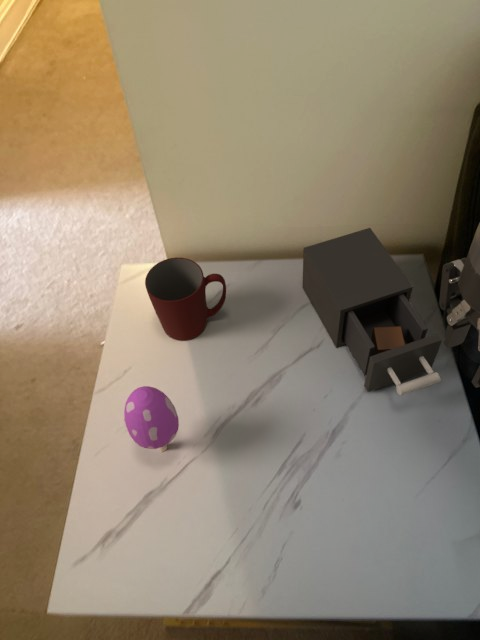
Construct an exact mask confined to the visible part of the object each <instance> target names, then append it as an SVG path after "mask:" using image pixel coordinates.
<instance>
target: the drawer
mask: <svg viewBox="0 0 480 640" xmlns="http://www.w3.org/2000/svg"><path fill="white" fill-rule="evenodd" d="M398 326H401V329H402V333H403V338H404V343H405V345H403V346H400V347H397V348H394V349H391V350H388V351H385V352H382V353H379V354H376V355H373V354H374V349H375V346H374V344H373V343H372V341H371V339H372V334H373V329H374V327H398ZM428 330H429V328H428V326H427V325H426V324H425V322H424V321H423V319H422V317H420V315H419V313H418V312H417V311H416V309H415V308H414V306H413V305H412V304H411V303H410V300H409V301H408V300H407V298H406V297H405V295H404V294H403V293H402V294H399V295H396V296H393V297H390V298H387V299H384V300H381V301H378V302H374V303H371V304H368V305H365V306H362V307H359V308H356V309H353V310H350V311H347V312H345V316H344V324H343V332H342V338H343V339H344V341H345V343H346V345H345V346H346V347H347V348H348V350H349V352H350V353H351V355H352V358H354V360H355V362H356V364H357V366H358V368H359V369H360V371H361V373H362V375H363V376H364V377H365V379H364V385H363V386H364V388H365V390H366V392H367V393H369V392H372V391H375V390H378V389H381V388H383V387H386V386H389V385H392V384H395V390H396V392H397V394H398V396H404V395H406V394H408V393H412V392H415V391H418V390H421V389H423V388H426V387H428V386H431V385H434V384H437V383H441V376H440V374H439V373H438V372H437V371H434V370H433V366H434V363H435V360H436V357H437V355H438V352H439V350H440V347H441V344H442V341H443V339H442V337H441V335H439V333H435V334H432V335H429V336H427V333H428ZM426 372H427V374H426V375H423V376H421V377H420V376H419V377H417V378H414V379H412V380H409V381H406V382H403V383H402V382H401V381H403V380H407V379H409V378H412V377H415V376H417V375H421V374H423V373H426Z"/></svg>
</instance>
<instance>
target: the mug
mask: <svg viewBox="0 0 480 640" xmlns="http://www.w3.org/2000/svg"><path fill="white" fill-rule="evenodd" d="M214 282H215V283H216V282H217V283H221V285H222V292H221V296H220V299H219V300H218V302H217V303H216V304H215V305H214V306H213V307H211V308H209V307H208V305H207V293H206V289H207V286H208V284H210V283H214ZM144 285H145V289H146V292H147V295H148V298H149V300H150V302H151V305H152V307H153V309H154V312H155V314H156V316H157V318H158V321H159V323H160V325H161V327H162V329H163V331H164V333H165V335H167V336H168V337H169V338H171V339H172V340H175V341H183V342H184V341H190V340H193V339H195V338H197V337H198V336H200V335H201V334H202V333H203V332H204V331H205V329H206V327H207V324H208V319H210V318H212V317H214V316H215V315H217V314H218V313H219V312H220V311H221V309H222V307H223V306H224V304H225V301H226V298H227V284H226V281H225V278H224V277H223V275H221V274H219V273H210V274H208V275H206V276H204V272H203V269H202V267H201V266H200V264H198V263H197V262H196V261H194V260H192V259H190V258H188V257H187V258H186V257H170V258H167V259H163V260H161V261H159V262H158V263H156V264H154V265H153V266H152V267H150V269H149V270H148V272H147V273H146V276H145V280H144Z"/></svg>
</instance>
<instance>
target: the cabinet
mask: <svg viewBox="0 0 480 640" xmlns="http://www.w3.org/2000/svg"><path fill="white" fill-rule="evenodd" d="M302 249H303V251H302V255H303V256H302V286H301V287H302V289H303V291H304V293H305V295H306V296H307V298H308V300H309V303H310V304H311V306H312V307H313V309H314V311H315V313H316V314H317V317H318V318H319V320H320V321H321V324H322V325H323V327H324V328H325V331H326V332H327V334H328V336H329V338H330V340H331V341H332V343H333V345H334V347H335V348H336V349H338V348H341V347H344V346H347V345H346V343H345V341H344V339H343V338H342V332H343V324H344V316H345V312H347V311H350V310H353V309H356V308H359V307H362V306H365V305H368V304H371V303H374V302H378V301H381V300H384V299H387V298H390V297H393V296H396V295H399V294H402V293H403V294H404V295H405V297H406V298H407V300H408V301H409V302H410V300H411V295H412V291H413V288H414V286H413V284H411V282H410V281H409V279H408V277H407V276H406V275H405V274H404V272H403V270H401V268H400V267H399V266H398V264H397V262H396V261H395V259H394V258H393V257H392V256H391V254H390V253H389V252H388V250H387V249H386V247H385V246H384V245H383V244H382V242H381V241H380V239H379V238H378V237H377V235H376V233H375V232H374V231H373V230H372V228H371V227H367V228H364V229H360V230H357V231H354V232H351V233H348V234H344V235H341V236H338V237H334V238H332V239H328V240H325V241H321V242H318V243H315V244H311V245H309V246H305V247H303V248H302Z"/></svg>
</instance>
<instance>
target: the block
mask: <svg viewBox="0 0 480 640" xmlns="http://www.w3.org/2000/svg"><path fill="white" fill-rule="evenodd" d="M371 341H372V343H373V344H374V346H375V349H374V354H373V355H376V354H379V353H382V352H385V351H388V350H391V349H394V348H397V347H400V346H403V345H405V343H404V338H403V333H402V329H401V326H398V327H374V329H373V334H372V339H371Z"/></svg>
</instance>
